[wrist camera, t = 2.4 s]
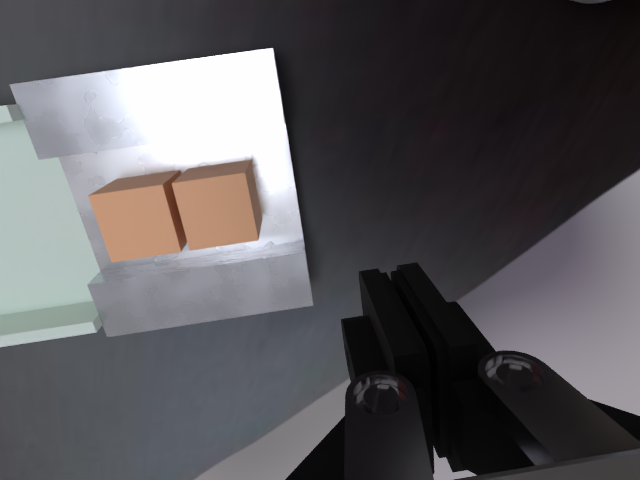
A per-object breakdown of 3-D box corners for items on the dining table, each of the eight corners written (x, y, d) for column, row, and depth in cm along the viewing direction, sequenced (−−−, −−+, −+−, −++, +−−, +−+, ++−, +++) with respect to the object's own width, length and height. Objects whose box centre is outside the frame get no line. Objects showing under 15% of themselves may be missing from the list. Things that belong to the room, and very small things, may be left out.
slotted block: (274, 52, 26) (272, 47, 22) (310, 278, 31) (313, 305, 28) (50, 83, 25) (9, 84, 21) (128, 306, 31) (107, 337, 27)
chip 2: (251, 159, 26) (244, 172, 22) (262, 218, 27) (258, 240, 24) (188, 168, 26) (171, 183, 22) (202, 227, 27) (189, 250, 24)
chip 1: (180, 169, 26) (162, 184, 22) (195, 228, 27) (181, 251, 24) (116, 178, 26) (88, 195, 22) (135, 237, 27) (111, 262, 23)
